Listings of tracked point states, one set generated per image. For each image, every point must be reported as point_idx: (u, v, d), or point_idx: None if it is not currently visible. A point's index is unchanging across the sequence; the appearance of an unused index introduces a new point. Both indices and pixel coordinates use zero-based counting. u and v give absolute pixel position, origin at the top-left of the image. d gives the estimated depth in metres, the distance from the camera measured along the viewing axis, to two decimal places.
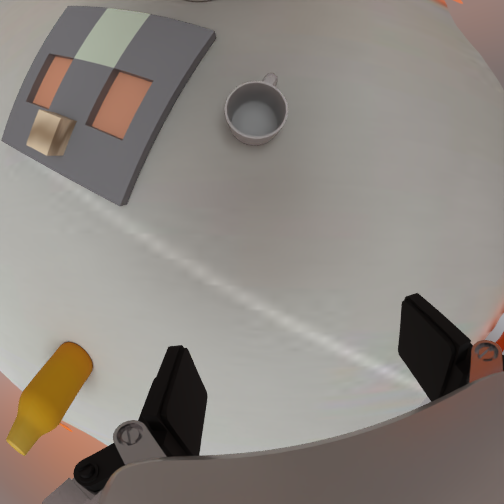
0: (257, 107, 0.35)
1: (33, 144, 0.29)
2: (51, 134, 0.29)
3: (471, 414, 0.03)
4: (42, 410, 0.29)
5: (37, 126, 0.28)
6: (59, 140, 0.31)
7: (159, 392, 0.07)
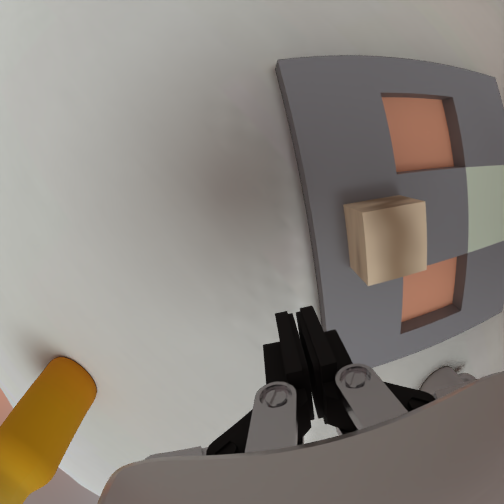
0: None
1: (371, 236, 0.19)
2: (401, 271, 0.20)
3: (471, 414, 0.03)
4: (45, 479, 0.15)
5: (401, 222, 0.19)
6: None
7: (291, 350, 0.08)
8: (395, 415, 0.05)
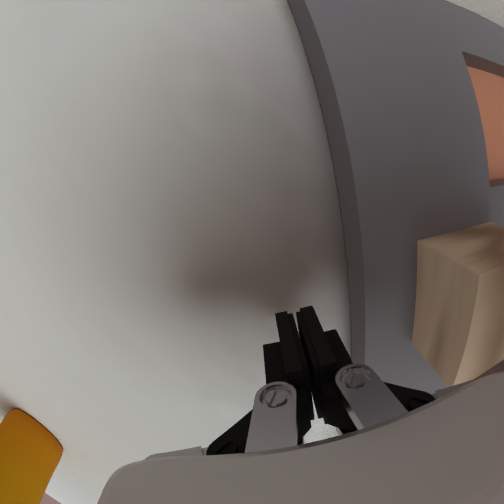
0: None
1: (480, 317, 0.07)
2: (497, 358, 0.08)
3: (471, 414, 0.03)
4: None
5: None
6: None
7: (291, 350, 0.08)
8: (395, 415, 0.05)
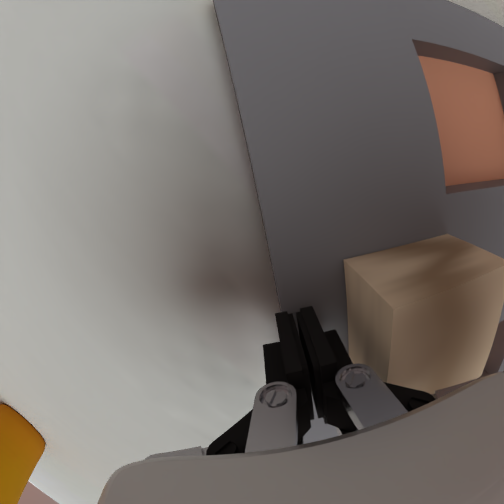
0: None
1: (403, 354, 0.07)
2: None
3: (471, 414, 0.03)
4: None
5: (467, 312, 0.07)
6: None
7: (291, 350, 0.08)
8: (395, 415, 0.05)
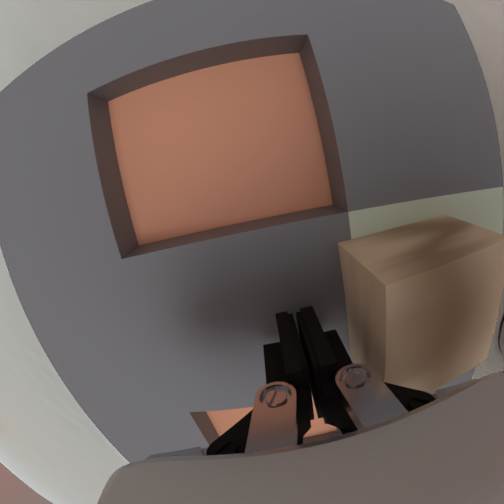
0: None
1: (400, 334, 0.07)
2: (447, 376, 0.08)
3: (471, 414, 0.03)
4: None
5: (466, 290, 0.07)
6: None
7: (291, 350, 0.08)
8: (395, 415, 0.05)
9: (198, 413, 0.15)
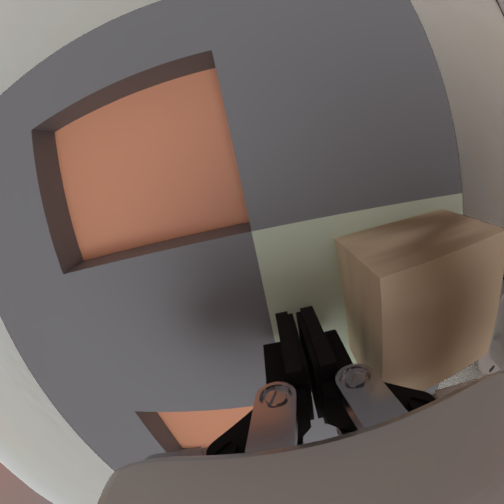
0: None
1: (397, 328, 0.07)
2: (446, 371, 0.08)
3: (471, 414, 0.03)
4: None
5: (464, 283, 0.07)
6: None
7: (291, 350, 0.08)
8: (395, 415, 0.05)
9: (146, 413, 0.16)
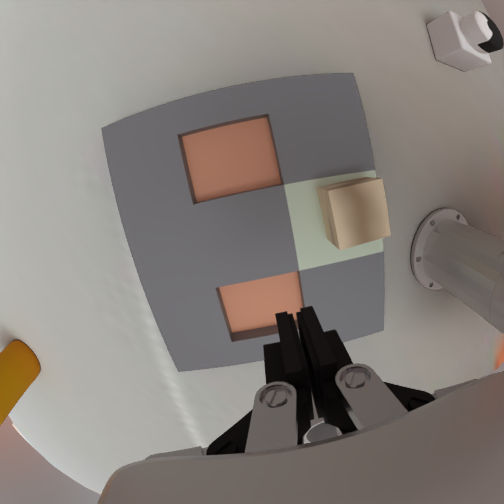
0: None
1: (337, 209, 0.25)
2: (367, 237, 0.26)
3: (471, 414, 0.03)
4: None
5: (362, 196, 0.25)
6: None
7: (291, 350, 0.08)
8: (395, 415, 0.05)
9: (218, 294, 0.33)
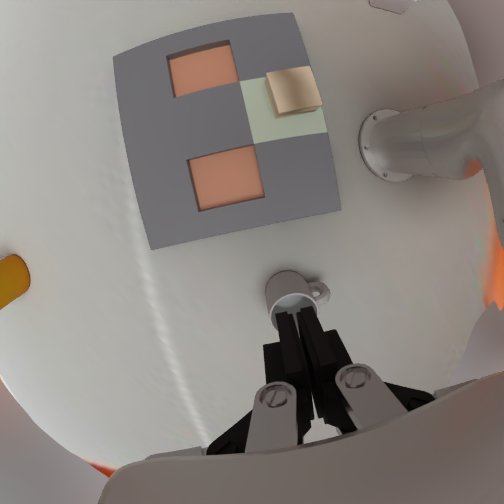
0: None
1: (274, 84, 0.30)
2: (301, 104, 0.31)
3: (471, 414, 0.03)
4: None
5: (294, 76, 0.30)
6: (295, 112, 0.33)
7: (291, 350, 0.08)
8: (395, 415, 0.05)
9: (189, 168, 0.39)
